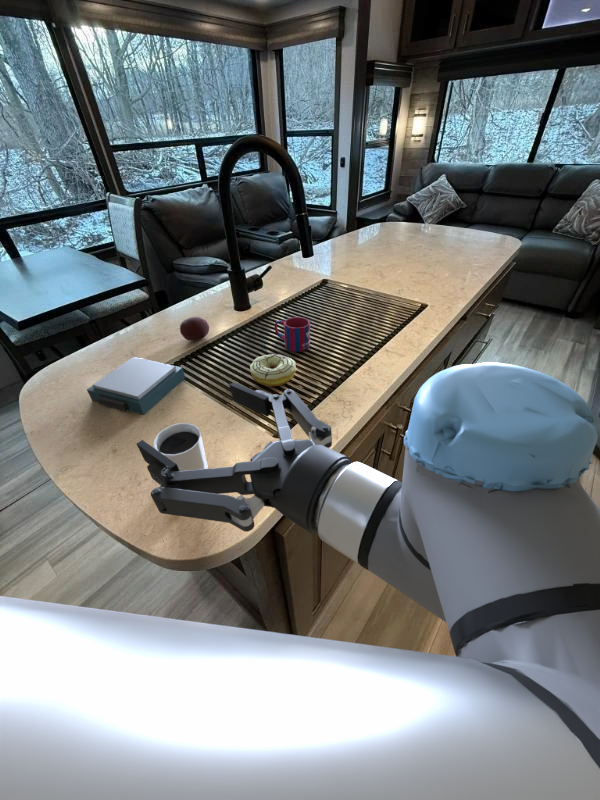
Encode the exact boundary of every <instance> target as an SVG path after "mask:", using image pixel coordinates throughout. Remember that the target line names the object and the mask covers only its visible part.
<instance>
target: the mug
mask: <svg viewBox="0 0 600 800" xmlns="http://www.w3.org/2000/svg"><path fill="white" fill-rule="evenodd" d="M278 324H281V325H283V332H284V333H283V334H284V335H283V334H281V333H280V331H279V329H278ZM274 332H275V334H276V335H277V337H278V338H280V339H281V340H282V341H284V347H285V349H286V350H287V351H289V352H293V353H301V352H305V351H307V350H309V348H310V347H311V321H310V320H309V319H308V318H307V317H306V318H305V317H302V316H293V317H289V318H286V319H285V320H281V319H278V320H276V321H275V323H274Z"/></svg>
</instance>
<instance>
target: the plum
mask: <svg viewBox="0 0 600 800" xmlns="http://www.w3.org/2000/svg"><path fill="white" fill-rule="evenodd" d="M179 332H180V335H181V336H182V337H183V338H184V339H185V340H187V341H194V342H195V341H201V340H203V339H204V338H206V336H208V334H209V332H210V325H209V323H208V322H207V320H206V319H204V318H203V317H200V316H190V317H188V318H186V319H184V320H182V321H181V323H180V326H179Z"/></svg>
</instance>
